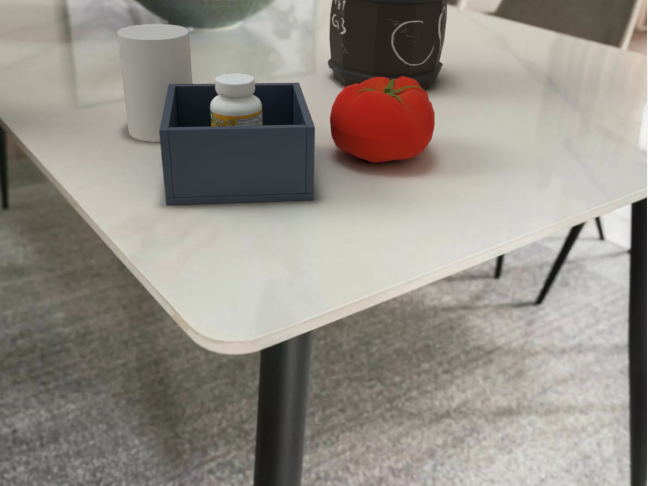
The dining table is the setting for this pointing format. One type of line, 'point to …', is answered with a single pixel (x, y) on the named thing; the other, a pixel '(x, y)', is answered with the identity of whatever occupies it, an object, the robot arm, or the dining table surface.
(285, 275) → the dining table surface
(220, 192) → the tote
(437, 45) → the dark plant pot
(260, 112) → the supplement bottle
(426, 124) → the tomato
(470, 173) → the dining table surface
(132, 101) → the cup
